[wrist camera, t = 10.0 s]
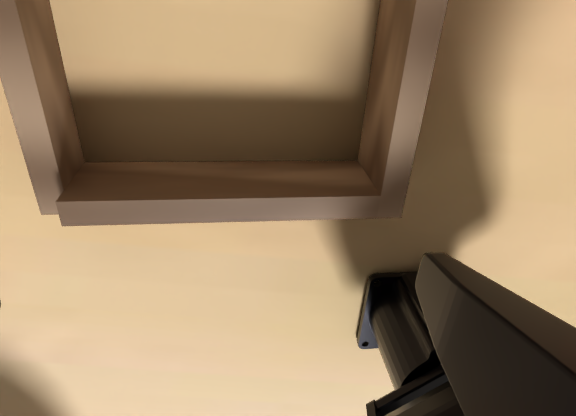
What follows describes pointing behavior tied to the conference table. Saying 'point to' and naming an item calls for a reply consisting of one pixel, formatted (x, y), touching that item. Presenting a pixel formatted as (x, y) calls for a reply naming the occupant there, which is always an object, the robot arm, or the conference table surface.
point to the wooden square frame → (219, 174)
